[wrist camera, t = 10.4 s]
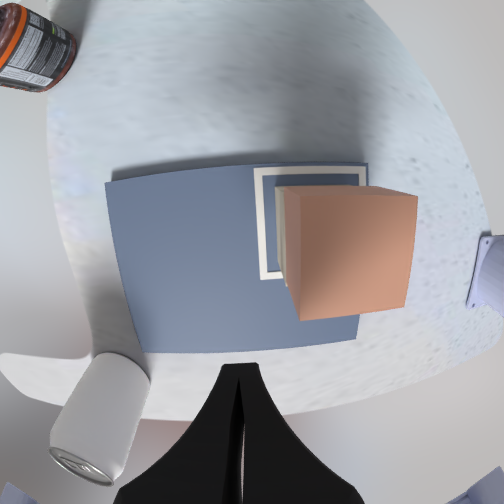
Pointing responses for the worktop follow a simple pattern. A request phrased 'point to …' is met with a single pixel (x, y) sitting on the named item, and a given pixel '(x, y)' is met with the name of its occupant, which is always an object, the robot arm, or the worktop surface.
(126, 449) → the can
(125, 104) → the worktop surface
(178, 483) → the robot arm
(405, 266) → the terracotta block
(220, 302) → the board
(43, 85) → the supplement bottle
